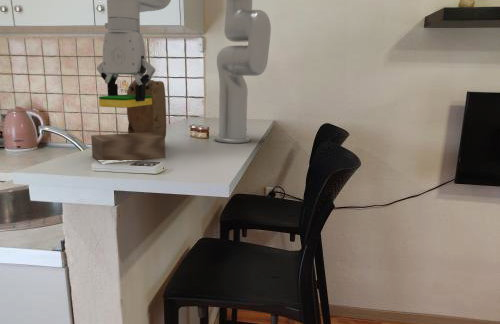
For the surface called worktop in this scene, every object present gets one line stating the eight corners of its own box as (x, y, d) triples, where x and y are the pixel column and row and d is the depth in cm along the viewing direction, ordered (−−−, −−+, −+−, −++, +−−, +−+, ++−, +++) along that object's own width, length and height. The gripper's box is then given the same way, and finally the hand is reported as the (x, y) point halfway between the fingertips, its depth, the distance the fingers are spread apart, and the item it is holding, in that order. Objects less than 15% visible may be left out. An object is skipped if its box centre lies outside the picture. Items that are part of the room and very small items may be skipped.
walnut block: (151, 152, 110) (150, 131, 108) (165, 159, 102) (164, 136, 101) (92, 158, 101) (91, 135, 99) (103, 165, 93) (101, 141, 91)
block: (168, 146, 118) (167, 80, 114) (155, 150, 111) (154, 80, 107) (138, 143, 121) (136, 79, 117) (124, 147, 114) (121, 79, 110)
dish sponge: (98, 106, 93) (97, 96, 92) (129, 103, 106) (128, 94, 105) (124, 108, 91) (124, 97, 90) (152, 104, 104) (152, 95, 104)
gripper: (84, 25, 93) (88, 99, 97) (146, 25, 88) (148, 102, 92) (104, 29, 100) (107, 98, 104) (163, 29, 95) (164, 101, 99)
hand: (126, 99), depth 98 cm, fingers closed on dish sponge, 7 cm apart
